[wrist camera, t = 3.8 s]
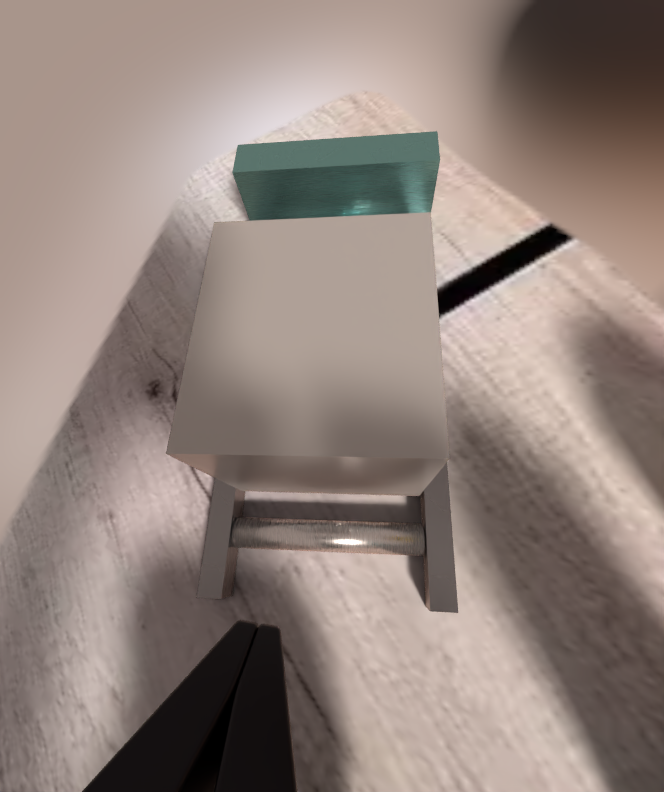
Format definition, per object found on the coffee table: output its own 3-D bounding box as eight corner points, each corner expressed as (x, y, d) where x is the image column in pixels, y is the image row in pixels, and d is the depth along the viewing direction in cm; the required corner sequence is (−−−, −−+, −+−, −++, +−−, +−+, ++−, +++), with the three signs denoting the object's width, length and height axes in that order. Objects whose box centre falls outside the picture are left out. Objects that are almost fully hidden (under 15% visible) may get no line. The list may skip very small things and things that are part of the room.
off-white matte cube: (419, 496, 19) (449, 458, 12) (242, 491, 20) (165, 453, 12) (411, 323, 23) (430, 212, 15) (263, 326, 24) (214, 222, 16)
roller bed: (424, 215, 28) (437, 131, 22) (451, 607, 18) (485, 631, 13) (263, 222, 29) (237, 144, 24) (209, 594, 19) (145, 610, 14)
